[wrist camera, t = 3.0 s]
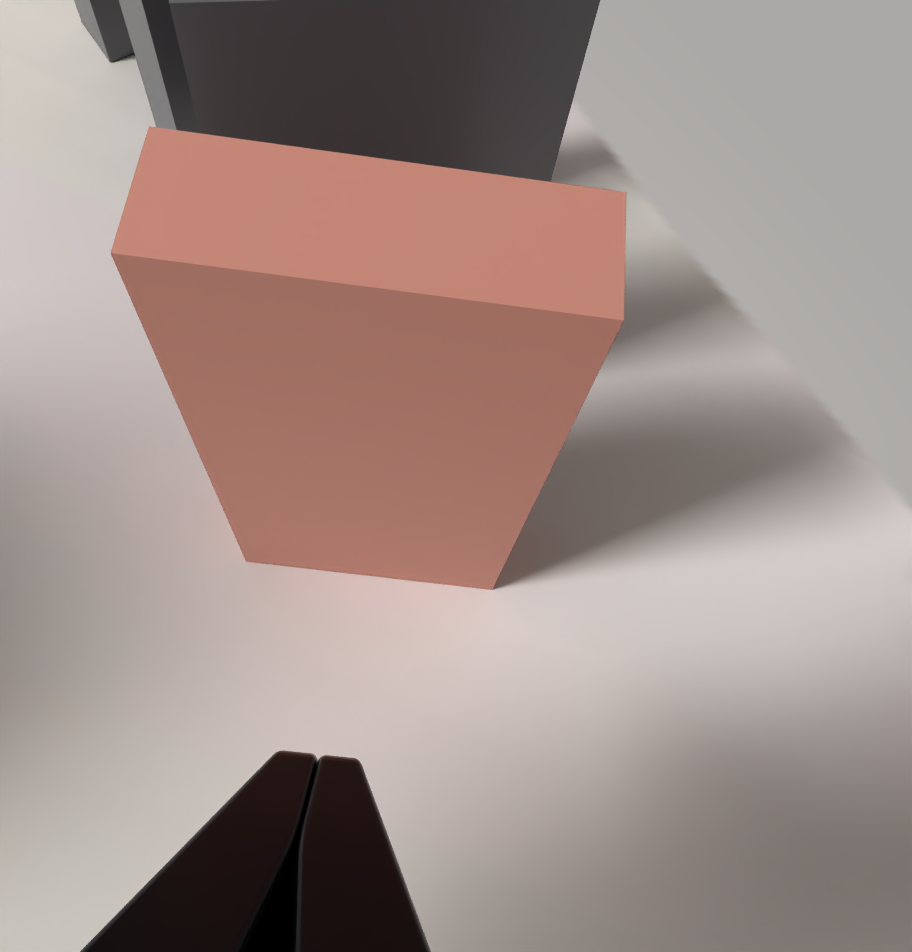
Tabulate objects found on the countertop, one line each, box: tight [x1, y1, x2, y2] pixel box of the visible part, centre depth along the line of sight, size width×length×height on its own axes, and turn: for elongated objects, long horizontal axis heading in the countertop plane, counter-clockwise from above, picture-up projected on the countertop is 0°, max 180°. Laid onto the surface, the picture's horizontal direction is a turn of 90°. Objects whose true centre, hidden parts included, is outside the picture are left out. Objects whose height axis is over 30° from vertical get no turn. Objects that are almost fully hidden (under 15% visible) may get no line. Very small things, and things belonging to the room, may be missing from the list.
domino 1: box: [169, 0, 600, 182], centre depth 15 cm, size 2×5×10 cm, turn 99°
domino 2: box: [111, 126, 626, 590], centre depth 13 cm, size 2×5×10 cm, turn 85°
